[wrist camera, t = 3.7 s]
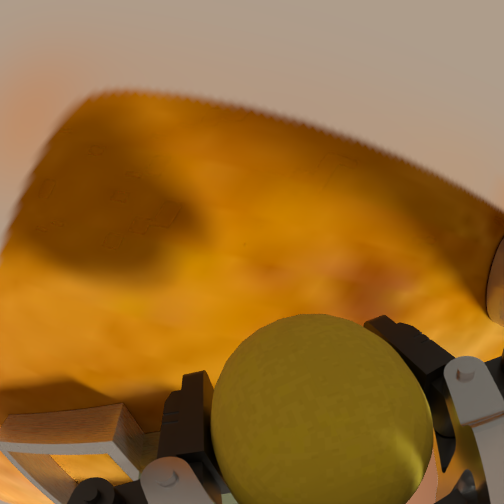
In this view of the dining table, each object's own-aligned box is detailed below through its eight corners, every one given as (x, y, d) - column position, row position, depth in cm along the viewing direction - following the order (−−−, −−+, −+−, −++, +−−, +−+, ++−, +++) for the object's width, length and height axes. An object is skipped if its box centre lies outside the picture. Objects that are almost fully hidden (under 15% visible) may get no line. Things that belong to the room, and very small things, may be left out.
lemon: (177, 345, 10) (152, 562, 2) (299, 246, 10) (492, 387, 2) (269, 421, 11) (317, 580, 4) (371, 345, 11) (494, 474, 3)
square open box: (228, 377, 16) (240, 438, 11) (275, 476, 19) (290, 522, 14) (8, 414, 14) (-16, 452, 9) (87, 498, 17) (79, 535, 12)
